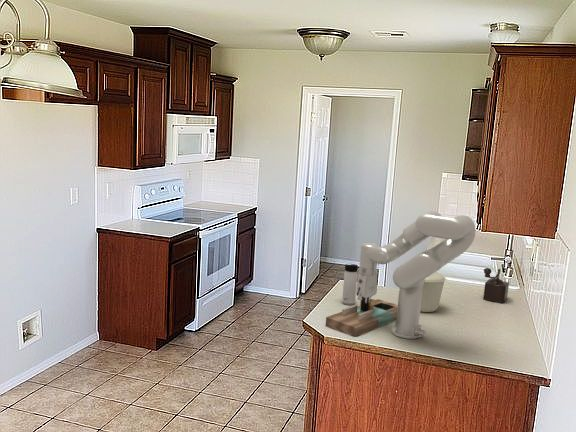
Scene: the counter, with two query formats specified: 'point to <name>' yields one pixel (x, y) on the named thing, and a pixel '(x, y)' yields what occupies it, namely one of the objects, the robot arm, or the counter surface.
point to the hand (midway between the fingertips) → (364, 310)
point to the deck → (362, 318)
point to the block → (370, 304)
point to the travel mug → (350, 284)
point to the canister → (432, 292)
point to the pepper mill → (495, 288)
